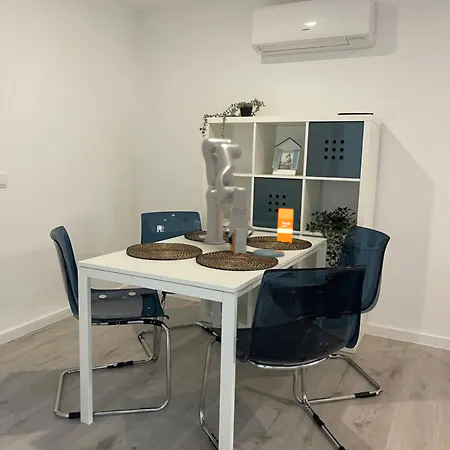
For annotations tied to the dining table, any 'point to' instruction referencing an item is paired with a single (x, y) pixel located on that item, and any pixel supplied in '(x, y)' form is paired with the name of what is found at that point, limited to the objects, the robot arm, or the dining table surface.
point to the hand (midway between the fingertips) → (238, 244)
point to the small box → (238, 241)
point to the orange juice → (285, 225)
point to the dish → (268, 253)
